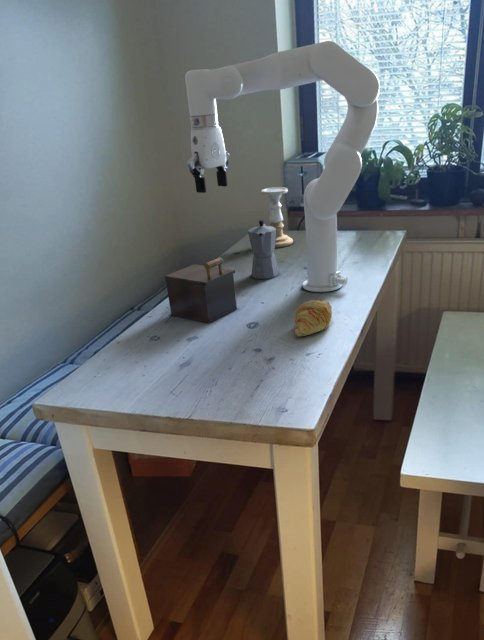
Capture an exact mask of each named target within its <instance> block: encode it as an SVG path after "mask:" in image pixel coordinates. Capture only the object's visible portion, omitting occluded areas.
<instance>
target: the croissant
mask: <svg viewBox="0 0 484 640" xmlns="http://www.w3.org/2000/svg"><path fill="white" fill-rule="evenodd" d="M332 311H333V310H332V305H331V304H330V302H328V301H323V300H322V299H313V300H312V299H311V300H308V301H305V302H303V303H302V304H300V305H299V306H298V307H297V308H296V310H295V312H294V328H295V329H294V333H295V334H294V335H295V336H296V337H306V336H310V335H313V334H316V333H318V332H321V331H323V330H326V329H328V327H329V325H330V323H331V320H332V315H333V312H332Z"/></svg>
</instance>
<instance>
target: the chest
mask: <svg viewBox="0 0 484 640" xmlns="http://www.w3.org/2000/svg"><path fill="white" fill-rule="evenodd" d="M234 278H235V277H234V273H233V274H231V275H229V276H227V277H224V278H222V279H220V280H218V281H215V282H213V283H211V284H208V285H201V284H195V283H189V282H183V281H177V280H171V279H165V285H166V290H167V296H168V303H169V309H170V315H171V316H174V317H179V318H184V319H189V320H193V321H199V322H203V323H207V324H210V323H212V322H214V321H216V320H218V319H220V318H222V317H224V316H226V315H228V314H230V313H232V312H235V310H237V309H238V308H237V297H236V287H235V279H234Z"/></svg>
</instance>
